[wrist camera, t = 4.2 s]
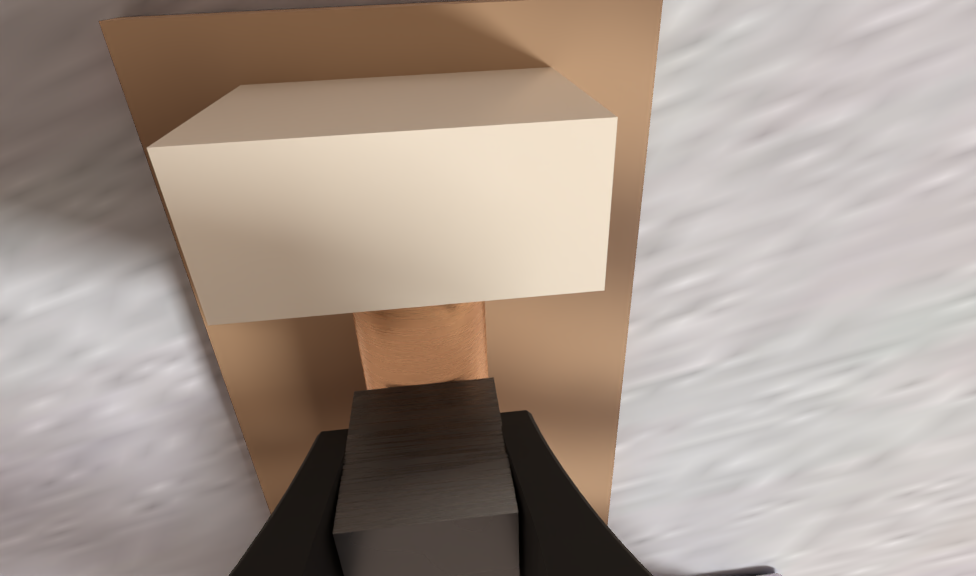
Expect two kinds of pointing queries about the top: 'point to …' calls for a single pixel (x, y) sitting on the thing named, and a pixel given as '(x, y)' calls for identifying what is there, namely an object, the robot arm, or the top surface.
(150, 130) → the walnut board
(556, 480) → the robot arm
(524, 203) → the cream rectangular block
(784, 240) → the top surface
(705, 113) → the top surface
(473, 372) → the brown piece
